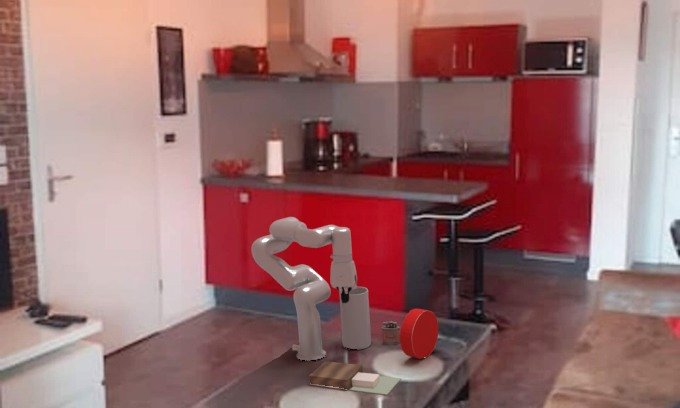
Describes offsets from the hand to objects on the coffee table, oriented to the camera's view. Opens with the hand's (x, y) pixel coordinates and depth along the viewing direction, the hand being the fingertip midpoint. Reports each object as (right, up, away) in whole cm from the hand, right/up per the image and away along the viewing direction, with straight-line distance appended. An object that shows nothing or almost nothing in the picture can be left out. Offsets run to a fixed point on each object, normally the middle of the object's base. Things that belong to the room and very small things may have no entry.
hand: (345, 302), depth 297 cm
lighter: (+21, -22, +26) cm, 40 cm away
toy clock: (+31, -24, +9) cm, 41 cm away
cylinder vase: (+5, -23, +27) cm, 36 cm away
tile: (+8, -28, -15) cm, 33 cm away
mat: (+11, -30, -16) cm, 36 cm away
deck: (-4, -29, -9) cm, 31 cm away
